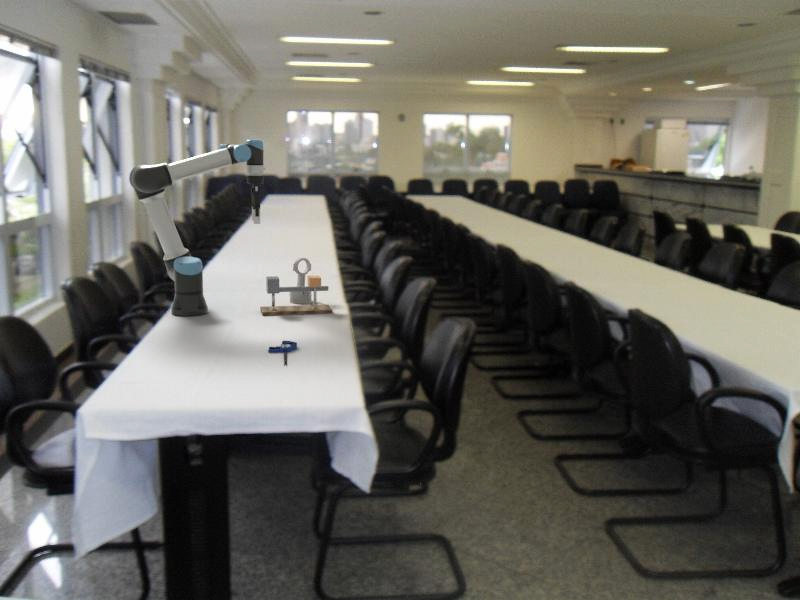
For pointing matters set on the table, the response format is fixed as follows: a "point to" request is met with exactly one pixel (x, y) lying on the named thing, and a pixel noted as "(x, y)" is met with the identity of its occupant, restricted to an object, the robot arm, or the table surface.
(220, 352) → the table surface
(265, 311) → the hole plate
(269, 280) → the grey piece
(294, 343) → the bar clamp
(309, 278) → the block
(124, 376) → the table surface
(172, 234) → the robot arm
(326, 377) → the table surface
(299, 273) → the engine component
